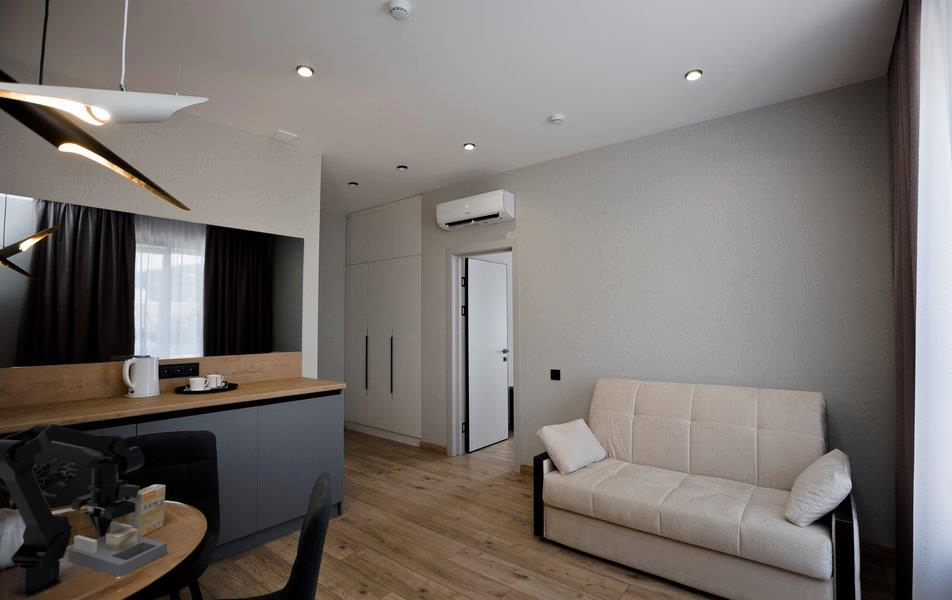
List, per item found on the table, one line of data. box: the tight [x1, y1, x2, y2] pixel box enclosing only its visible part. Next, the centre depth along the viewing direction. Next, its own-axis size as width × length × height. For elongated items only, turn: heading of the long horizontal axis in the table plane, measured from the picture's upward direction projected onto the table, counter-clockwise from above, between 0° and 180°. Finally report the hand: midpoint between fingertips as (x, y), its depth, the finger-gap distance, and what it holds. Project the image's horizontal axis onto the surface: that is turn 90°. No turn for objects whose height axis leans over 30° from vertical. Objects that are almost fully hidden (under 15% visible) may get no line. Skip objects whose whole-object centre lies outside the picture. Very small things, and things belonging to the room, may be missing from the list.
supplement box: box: [128, 484, 166, 537], centre depth 138 cm, size 8×5×13 cm, turn 168°
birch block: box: [106, 526, 138, 552], centre depth 123 cm, size 5×5×4 cm
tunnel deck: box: [68, 521, 168, 578], centre depth 123 cm, size 12×21×6 cm, turn 70°
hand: (102, 536), depth 125 cm, fingers closed
